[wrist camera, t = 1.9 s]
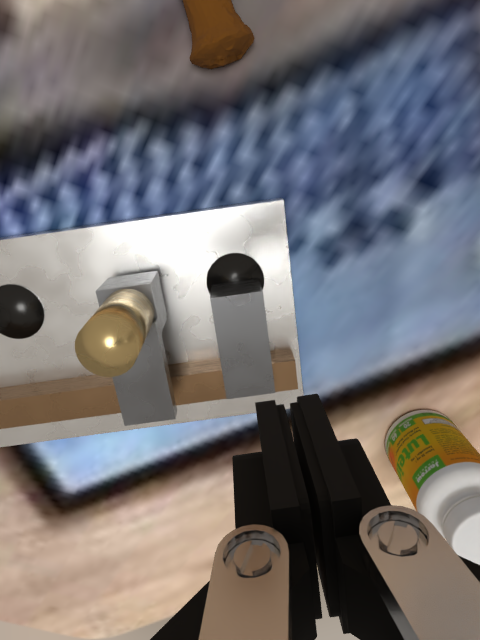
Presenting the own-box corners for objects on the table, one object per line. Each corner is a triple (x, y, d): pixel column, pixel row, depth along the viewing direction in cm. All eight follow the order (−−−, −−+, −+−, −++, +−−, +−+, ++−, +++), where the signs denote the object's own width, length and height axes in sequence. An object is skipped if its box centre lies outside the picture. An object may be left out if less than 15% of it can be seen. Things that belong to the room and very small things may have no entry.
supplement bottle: (399, 399, 34) (464, 490, 24) (466, 416, 34) (554, 511, 25) (372, 459, 35) (424, 566, 26) (436, 474, 36) (508, 583, 27)
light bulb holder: (158, 269, 28) (132, 312, 20) (182, 385, 31) (166, 464, 23) (110, 275, 28) (64, 322, 20) (137, 391, 31) (106, 472, 23)
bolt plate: (280, 197, 29) (290, 204, 24) (301, 395, 33) (312, 430, 29) (-113, 253, 29) (-171, 270, 25) (-38, 441, 34) (-76, 482, 29)
